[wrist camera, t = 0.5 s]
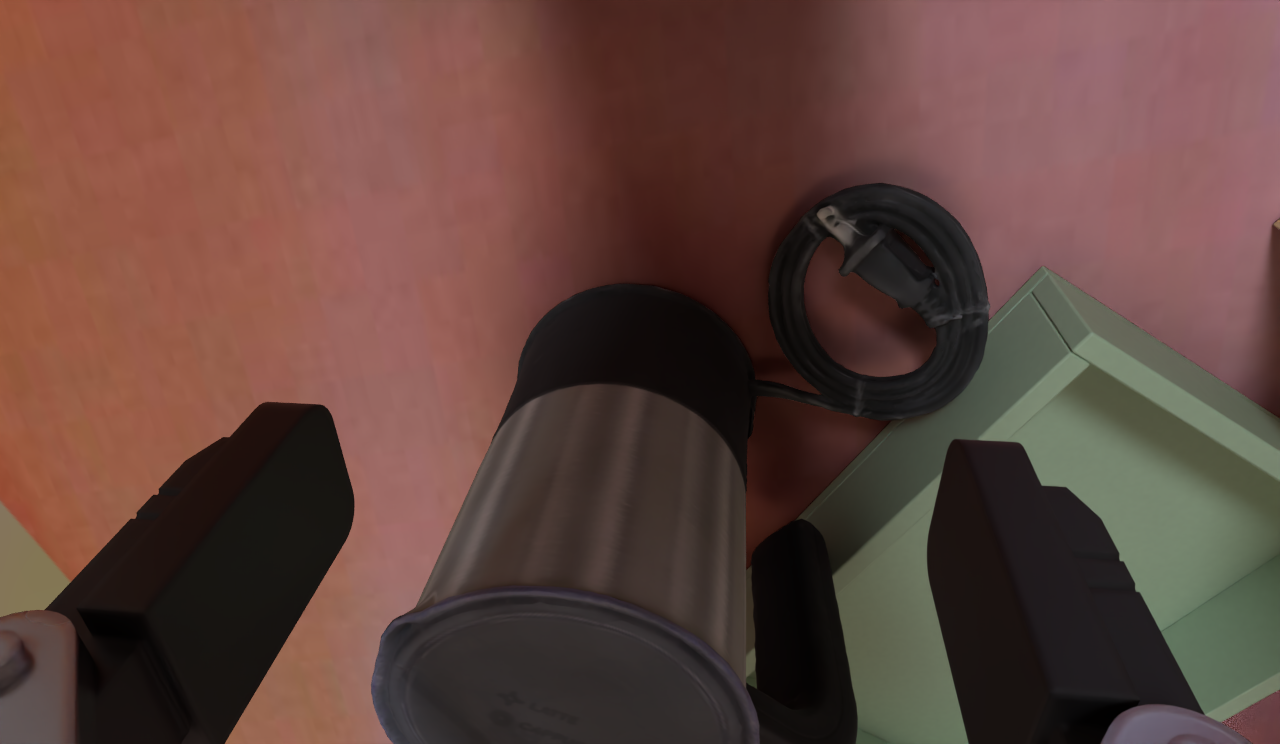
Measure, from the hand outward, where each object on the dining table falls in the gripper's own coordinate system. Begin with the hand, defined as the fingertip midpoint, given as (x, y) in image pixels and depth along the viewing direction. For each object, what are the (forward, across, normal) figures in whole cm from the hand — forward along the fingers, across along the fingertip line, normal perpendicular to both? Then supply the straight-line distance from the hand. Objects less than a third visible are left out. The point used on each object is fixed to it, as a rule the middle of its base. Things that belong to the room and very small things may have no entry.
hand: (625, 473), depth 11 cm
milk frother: (+18, -1, +8) cm, 20 cm away
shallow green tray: (+18, -12, +19) cm, 29 cm away
